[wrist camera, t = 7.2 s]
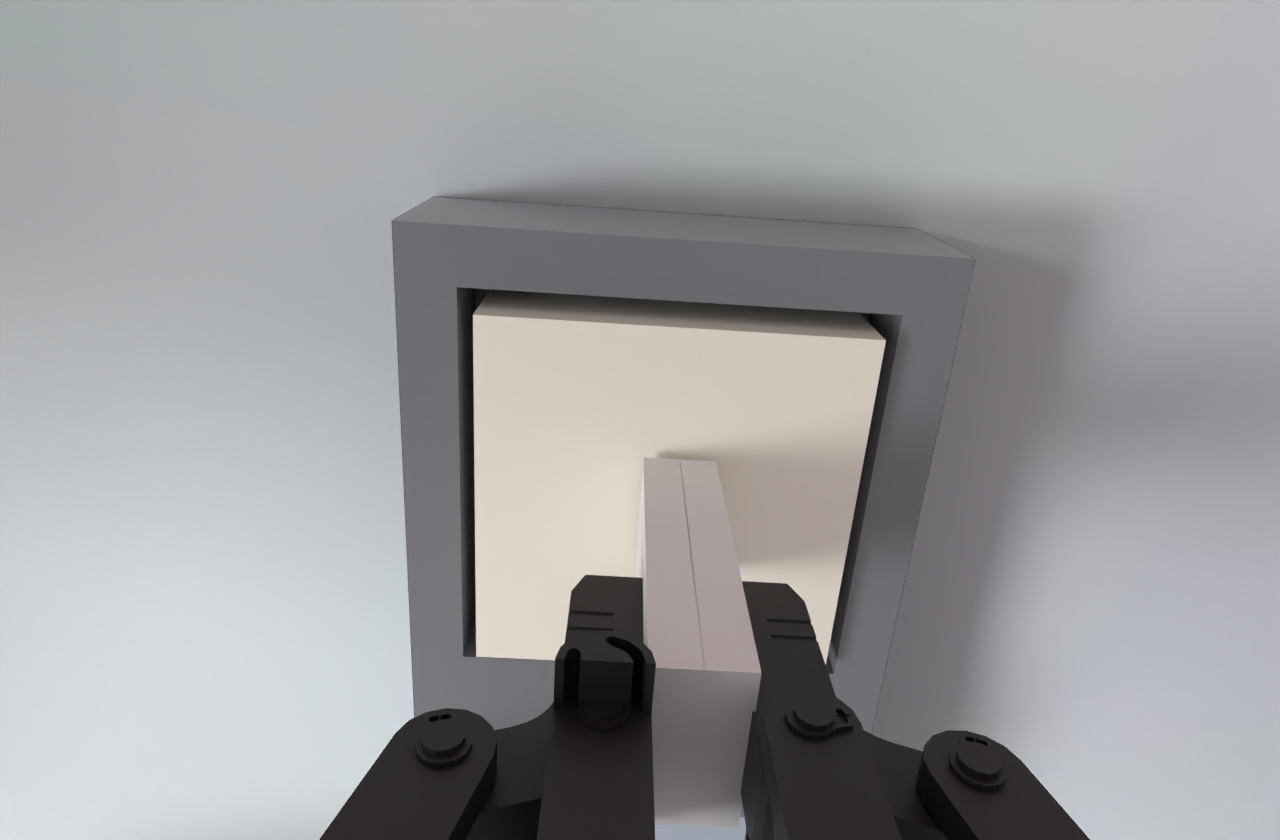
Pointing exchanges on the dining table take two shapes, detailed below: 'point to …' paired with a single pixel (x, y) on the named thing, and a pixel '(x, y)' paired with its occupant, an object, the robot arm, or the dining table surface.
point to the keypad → (675, 271)
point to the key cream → (658, 444)
